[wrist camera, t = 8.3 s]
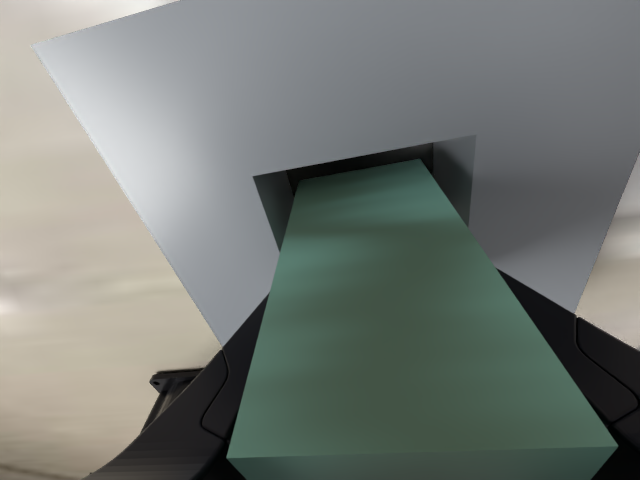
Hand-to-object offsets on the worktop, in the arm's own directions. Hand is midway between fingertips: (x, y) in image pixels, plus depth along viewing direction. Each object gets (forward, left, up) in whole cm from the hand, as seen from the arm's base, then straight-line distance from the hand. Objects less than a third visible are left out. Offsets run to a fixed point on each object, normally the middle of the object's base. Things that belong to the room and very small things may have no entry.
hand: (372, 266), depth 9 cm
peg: (0, 0, -2) cm, 2 cm away
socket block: (0, 0, -5) cm, 5 cm away
